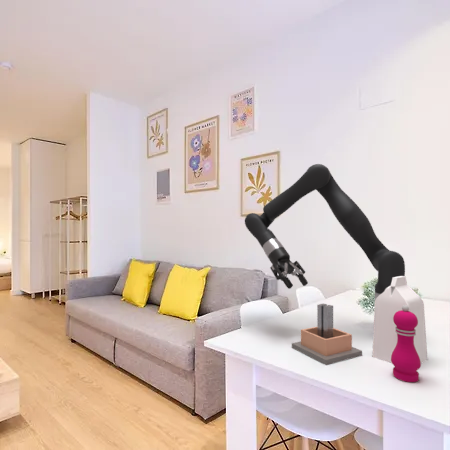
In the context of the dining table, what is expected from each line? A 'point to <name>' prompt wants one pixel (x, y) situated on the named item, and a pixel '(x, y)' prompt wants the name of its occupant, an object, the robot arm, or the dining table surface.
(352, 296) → the dining table surface
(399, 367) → the pepper mill
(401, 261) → the robot arm
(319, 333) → the twin upright plate stand
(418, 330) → the milk
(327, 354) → the holder
